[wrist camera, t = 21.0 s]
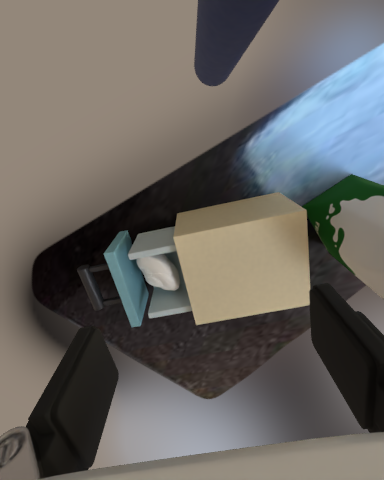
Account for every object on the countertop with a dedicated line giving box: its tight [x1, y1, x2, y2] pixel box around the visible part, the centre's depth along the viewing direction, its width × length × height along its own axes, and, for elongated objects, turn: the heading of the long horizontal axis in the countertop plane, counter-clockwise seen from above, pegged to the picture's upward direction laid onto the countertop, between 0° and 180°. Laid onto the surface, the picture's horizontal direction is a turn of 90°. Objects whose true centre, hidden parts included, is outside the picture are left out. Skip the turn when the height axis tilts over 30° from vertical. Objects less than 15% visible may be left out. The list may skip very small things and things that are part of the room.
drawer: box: [77, 226, 192, 327], centre depth 33 cm, size 17×10×7 cm, turn 102°
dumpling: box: [136, 254, 180, 291], centre depth 32 cm, size 7×5×4 cm
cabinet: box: [173, 192, 310, 325], centre depth 32 cm, size 14×12×9 cm
